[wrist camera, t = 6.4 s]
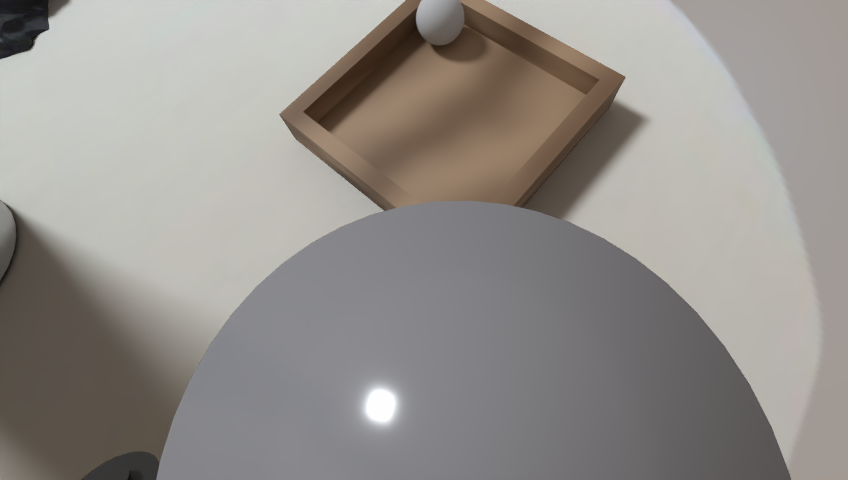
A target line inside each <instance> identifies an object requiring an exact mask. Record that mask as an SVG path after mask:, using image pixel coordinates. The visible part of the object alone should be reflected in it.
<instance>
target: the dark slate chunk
mask: <svg viewBox="0 0 848 480" xmlns="http://www.w3.org/2000/svg"><path fill="white" fill-rule="evenodd" d="M46 30H49V23H48V0H0V59H1V58H6V57H9V56H11V55H14V54H16V53H20V52H24V51H27V50H28V49H29V48H30V47H31V46H32V44H33V41H32V39H33V37H36V36H37V35H38V34H40V33H42V32H44V31H46Z"/></svg>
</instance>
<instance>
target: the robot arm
mask: <svg viewBox="0 0 848 480" xmlns="http://www.w3.org/2000/svg"><path fill="white" fill-rule="evenodd" d="M15 241H16V226H15V221H14V218H13V216H12V213H11V211H10V210H9V209H8V208H7V206H6V205H5V204H4V203H3V202H1V201H0V280H1V278H2V277H3V275H4V273H5V271H6V269H7V268H8V266H9V263H10V260H11V258H12V255H13V252H14V248H15ZM158 469H159V462H158V460H157V458H156V457H155V456H154V455H152V454H150V453H146V452H132V453H127V454H123V455H120V456H118V457H115V458H113V459H111V460H109V461H107V462H105V463H103V464H102V465H100V466H98V467H97V468H96V469H94V470H93V471H91V472H90V473H89V474H88V475H86V476H85V477H84V478H83V479H82V480H156V479H157V474H158Z"/></svg>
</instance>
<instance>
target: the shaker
mask: <svg viewBox="0 0 848 480" xmlns="http://www.w3.org/2000/svg"><path fill="white" fill-rule="evenodd" d="M156 480H791V478H790V474H789V472H788V469H787V466H786V464H785V461H784V458H783V456H782V453H781V451H780V448H779V445H778V443H777V440H776V438H775V435H774V432H773V430H772V427H771V425H770V423H769V421H768V419H767V418H766V416H765V414H764V412H763V410H762V408H761V406H760V404H759V402H758V400H757V398H756V396H755V394H754V392H753V390H752V388H751V386H750V384H749V383H748V381H747V380H746V378H745V377H744V375H743V374H742V372H741V371H740V369H739V368H738V366H737V365H736V363H735V362H734V360H733V359H732V357H731V355H730V354H729V352H728V351H727V349H726V348H725V346H724V345H723V344H722V343H721V341H720V340H719V339H718V338H717V337H716V335H715V334H714V333H713V332H712V330H711V329H710V328H709V327H708V326H707V324H706V323H705V322H704V321H703V320H702V318H701V317H700V316H699V315H698V313H697V312H696V311H695V310H694V309H693V308H692V307H691V306H690V305H689V304H688V303H687V302H686V301H685V300H684V299H683V298H681V297H680V296H679V295H678V294H677V293H676V292H675V291H674V290H673V289H672V288H671V287H670V286H669V285H668V284H667V283H666V282H665V281H664V280H662V279H661V278H660V277H658V276H657V275H656V274H655V273H653V272H652V271H651V270H650V269H648V268H647V267H646V266H644V265H643V264H642V263H641V262H639V261H638V260H637V259H636V258H634V257H632V256H631V255H629V254H628V253H626V252H624V251H623V250H621V249H619V248H618V247H616V246H615V245H613V244H611V243H610V242H608V241H607V240H605V239H603V238H601V237H599V236H597V235H595V234H593V233H591V232H589V231H587V230H585V229H582V228H580V227H578V226H576V225H574V224H572V223H570V222H567V221H564V220H561V219H558V218H555V217H552V216H549V215H546V214H543V213H541V212H538V211H534V210H529V209H525V208H520V207H515V206H511V205H506V204H500V203H489V202H479V201H435V202H428V203H422V204H415V205H408V206H402V207H398V208H395V209H391V210H387V211H383V212H380V213H376V214H372V215H370V216H367V217H365V218H362V219H360V220H357V221H355V222H352V223H350V224H347V225H345V226H342V227H340V228H338V229H336V230H335V231H333V232H331V233H329V234H327V235H325V236H323V237H322V238H320V239H318V240H316V241H314V242H312V243H311V244H309V245H308V246H307V247H305V248H304V249H302V250H301V251H299V252H298V253H297V254H295V255H294V256H292V257H291V258H290V259H288V260H287V261H285V262H284V263H283V264H281V265H280V266H279V267H278V268H277V269H276V270H275V271H274V272H272V273H271V274H270V275H269V276H268V277H267V278H266V279H265V280H263V281H262V282H261V283H260V284H259V285H258V286H257V287H256V288H255V289H254V290H253V291H252V292H251V293H250V295H249V296H248V297H247V298H246V299H245V300H244V301H243V302H242V303H241V305H240V306H239V307H238V308H237V309H236V310H235V311H234V312H233V313H232V315H231V316H230V318H229V319H228V320H227V322H226V323H225V324H224V326H223V327H222V329H221V330H220V331H219V333H218V334H217V336H216V337H215V338H214V340H213V341H212V343H211V344H210V345H209V347H208V349H207V351H206V353H205V354H204V356H203V358H202V360H201V361H200V363H199V365H198V367H197V368H196V370H195V372H194V374H193V376H192V377H191V379H190V381H189V383H188V386H187V388H186V390H185V393H184V395H183V397H182V400H181V402H180V404H179V406H178V409H177V411H176V413H175V416H174V418H173V421H172V424H171V427H170V431H169V434H168V437H167V440H166V443H165V447H164V450H163V453H162V456H161V459H160V464H159V469H158V474H157V479H156Z"/></svg>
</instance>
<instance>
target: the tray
mask: <svg viewBox="0 0 848 480" xmlns="http://www.w3.org/2000/svg"><path fill="white" fill-rule="evenodd" d="M421 1H422V0H406V1H405V2H404V3H402V4H401V5H400V6H399V7H398V8H397V9H396V10H395V11H394V12H392V13H391V14H390V15H389V16H388V17H387V18H386V19H385V20H384V21H382V22H381V23H380V24H379V25H378V26H377V27H376V28H375V29H374V30H372V31H371V32H370V33H369V34H368V35H367V36H366V37H365V38H364V39H362V40H361V41H360V42H359V43H358V44H357V45H356V46H355V47H354V48H352V49H351V50H350V51H349V52H348V53H347V54H346V55H345V56H344V57H342V58H341V59H340V60H339V61H338V62H337V63H336V64H335V65H334V66H332V67H331V68H330V69H329V70H328V71H327V72H326V73H325V74H324V75H322V76H321V77H320V78H319V79H318V80H317V81H316V82H315V83H314V84H312V85H311V86H310V87H309V88H308V89H307V90H306V91H305V92H304V93H302V94H301V95H300V96H299V97H298V98H297V99H296V100H295V101H294V102H292V103H291V104H290V105H289V106H288V107H287V108H286V109H285V110H284V111H282V112H281V113H280V114H279V115H280V116H281V118H282V119H283V121H284V122H285V124H286V125H287V127H288V128H289V130H290V131H291V133H292V134H293V136H294V137H295V139H296V140H298V141H299V142H300V143H301V144H303V145H304V146H305V147H306V148H308V149H309V150H310V151H311V152H312V153H314V154H315V155H316V156H317V157H319V158H320V159H321V160H322V161H324V162H325V163H326V164H327V165H329V166H330V167H331V168H332V169H333V170H335V171H336V172H337V173H338V174H340V175H341V176H342V177H343V178H345V179H346V180H347V181H348V182H350V183H351V184H352V185H353V186H354V187H356V188H357V189H358V190H359V191H361V192H362V193H363V194H364V195H366V196H367V197H368V198H369V199H371V200H372V201H373V202H374V203H375V204H377V205H378V206H379V207H380V208H382V209H383V210H384V211H387V210H391V209H395V208H398V207H402V206H408V205H415V204H422V203H428V202H435V201H479V202H489V203H500V204H506V205H511V206H515V207H520V208H522V207H523V206H524V205H525V204H526V203H527V202H528V200H529V199H530V198H531V197H532V196H533V195H534V194H535V192H536V191H537V190H538V189H539V188H540V187H541V185H542V184H543V183H544V182H545V181H546V180H547V178H548V177H549V176H550V175H551V174H552V173H553V172H554V170H555V169H556V168H557V167H558V166H559V165H560V163H561V162H562V161H563V160H564V159H565V158H566V156H567V155H568V154H569V153H570V152H571V151H572V150H573V148H574V147H575V146H576V145H577V144H578V143H579V141H580V140H581V139H582V138H583V137H584V136H585V134H586V133H587V132H588V131H589V130H590V129H591V128H592V126H593V125H594V124H595V123H596V122H597V121H598V119H599V118H600V117H601V116H602V115H603V114H604V112H605V111H606V110H607V109H608V108H609V107H610V105H611V103H612V101H613V99H614V98H615V96H616V94H617V92H618V90H619V88H620V87H621V85H622V83H623V81H624V79H625V76H623V75H621V74H619V73H617V72H616V71H614V70H612V69H610V68H608V67H606V66H605V65H603V64H601V63H599V62H597V61H595V60H594V59H592V58H590V57H588V56H586V55H584V54H582V53H581V52H579V51H577V50H575V49H573V48H571V47H570V46H568V45H566V44H564V43H562V42H560V41H559V40H557V39H555V38H553V37H551V36H549V35H548V34H546V33H544V32H542V31H540V30H538V29H537V28H535V27H533V26H531V25H529V24H527V23H526V22H524V21H522V20H520V19H518V18H516V17H514V16H513V15H511V14H509V13H507V12H505V11H503V10H502V9H500V8H498V7H496V6H494V5H492V4H491V3H489V2H487V1H485V0H459V1H460V2H461V4H462V7H463V10H464V24H463V28H462V30H461V32H460V34H459V35H458V37H457V38H456V39H455V40H454V41H452V42H451V43H449V44H446V45H434V44H431V43H429V42H427V41H426V40H425V39H424V38H423V37H422V36H421V34H420V32H419V30H418V28H417V23H416V13H417V9H418V6H419V4H420V2H421Z"/></svg>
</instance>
